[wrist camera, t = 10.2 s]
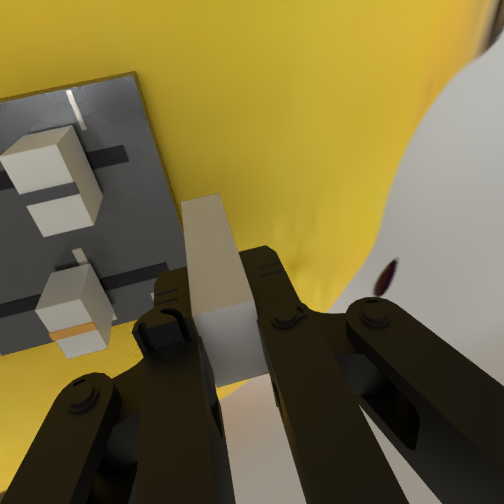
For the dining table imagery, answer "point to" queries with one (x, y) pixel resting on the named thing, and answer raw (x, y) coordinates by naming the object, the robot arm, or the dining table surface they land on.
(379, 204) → the dining table surface
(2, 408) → the dining table surface
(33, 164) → the fader
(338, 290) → the dining table surface
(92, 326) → the fader
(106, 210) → the console
